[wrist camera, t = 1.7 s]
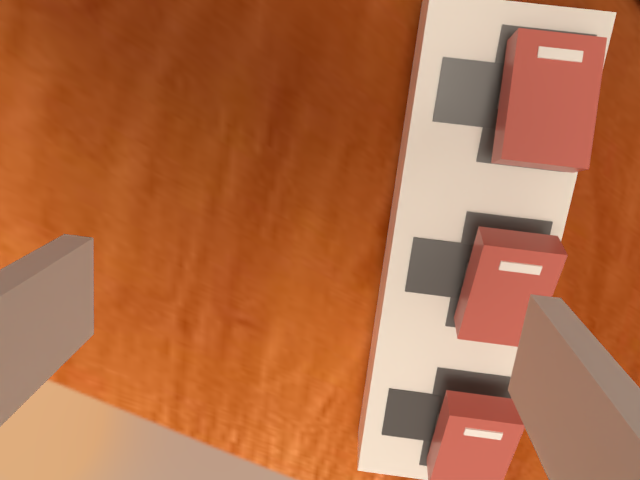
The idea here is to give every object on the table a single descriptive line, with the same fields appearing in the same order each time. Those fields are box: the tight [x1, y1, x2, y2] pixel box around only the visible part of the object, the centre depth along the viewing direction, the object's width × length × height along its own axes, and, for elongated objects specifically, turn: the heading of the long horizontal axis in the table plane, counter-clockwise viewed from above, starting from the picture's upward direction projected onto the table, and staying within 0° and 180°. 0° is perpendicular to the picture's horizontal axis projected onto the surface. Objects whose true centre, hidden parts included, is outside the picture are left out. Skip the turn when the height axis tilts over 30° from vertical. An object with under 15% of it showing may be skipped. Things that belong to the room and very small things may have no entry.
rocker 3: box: [427, 390, 525, 480], centre depth 33 cm, size 6×4×2 cm, turn 173°
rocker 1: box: [491, 28, 607, 173], centre depth 27 cm, size 6×4×2 cm, turn 175°
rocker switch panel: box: [358, 0, 617, 480], centre depth 33 cm, size 28×9×5 cm, turn 174°
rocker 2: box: [454, 226, 568, 347], centre depth 30 cm, size 6×4×2 cm, turn 172°
